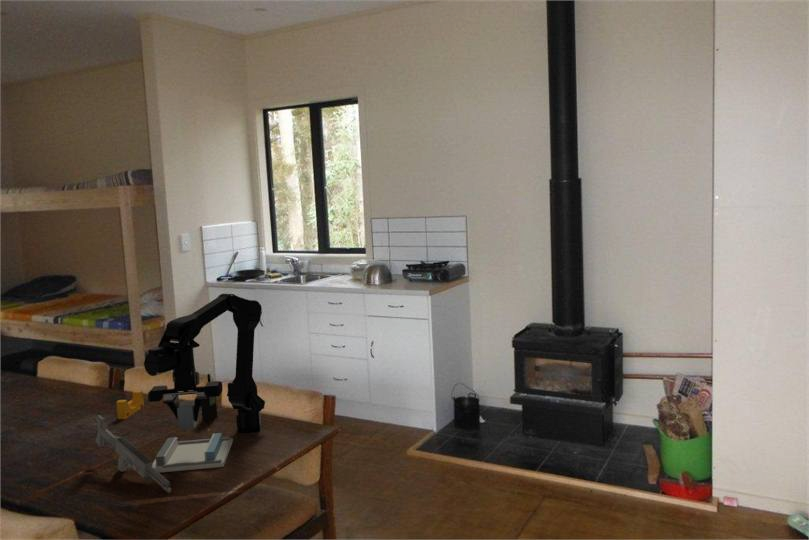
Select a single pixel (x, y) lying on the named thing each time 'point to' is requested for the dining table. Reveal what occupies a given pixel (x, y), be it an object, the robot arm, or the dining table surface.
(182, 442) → the vise bed
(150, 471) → the gun
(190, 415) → the steel block
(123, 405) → the pipe clamp
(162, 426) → the dining table surface
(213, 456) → the vise free jaw
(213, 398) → the walkie-talkie
